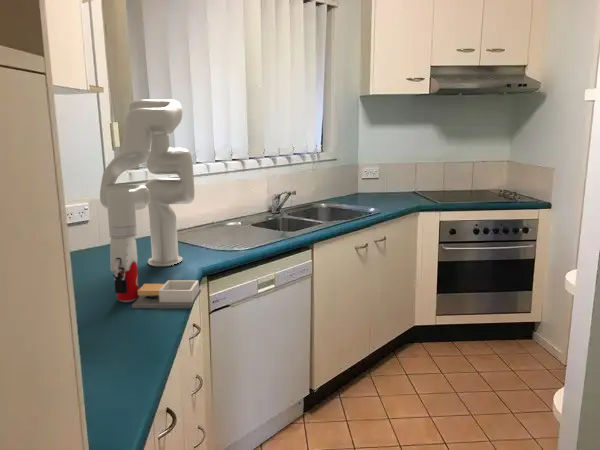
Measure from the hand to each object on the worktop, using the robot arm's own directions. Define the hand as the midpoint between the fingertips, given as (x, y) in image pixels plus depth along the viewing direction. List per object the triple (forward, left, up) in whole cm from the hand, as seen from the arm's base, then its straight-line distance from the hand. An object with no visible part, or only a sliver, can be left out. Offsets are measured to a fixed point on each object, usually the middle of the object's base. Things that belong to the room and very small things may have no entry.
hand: (127, 287), depth 150 cm
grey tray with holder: (0, +12, -4) cm, 12 cm away
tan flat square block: (0, +7, -2) cm, 8 cm away
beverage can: (0, 0, -4) cm, 4 cm away
